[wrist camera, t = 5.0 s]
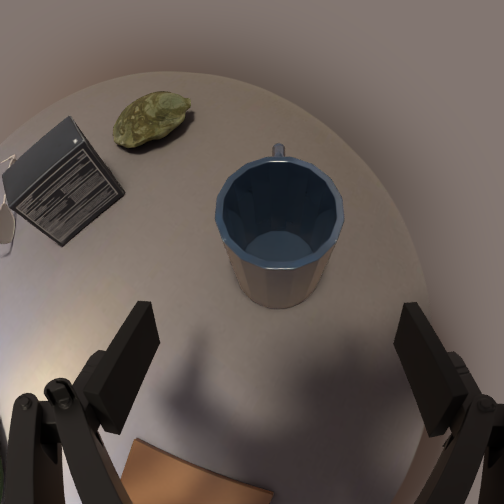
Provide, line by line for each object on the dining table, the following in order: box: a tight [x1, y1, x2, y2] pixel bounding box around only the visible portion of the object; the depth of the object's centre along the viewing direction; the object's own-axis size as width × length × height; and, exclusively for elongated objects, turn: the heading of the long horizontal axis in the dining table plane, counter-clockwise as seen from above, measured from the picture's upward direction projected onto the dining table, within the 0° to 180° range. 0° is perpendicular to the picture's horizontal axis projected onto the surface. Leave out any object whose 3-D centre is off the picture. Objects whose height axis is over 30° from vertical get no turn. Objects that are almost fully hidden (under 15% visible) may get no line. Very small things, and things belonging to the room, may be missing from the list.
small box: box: [2, 116, 124, 247], centre depth 31 cm, size 11×6×10 cm, turn 129°
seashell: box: [113, 91, 191, 148], centre depth 38 cm, size 10×7×10 cm
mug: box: [215, 143, 344, 309], centre depth 27 cm, size 11×8×12 cm
